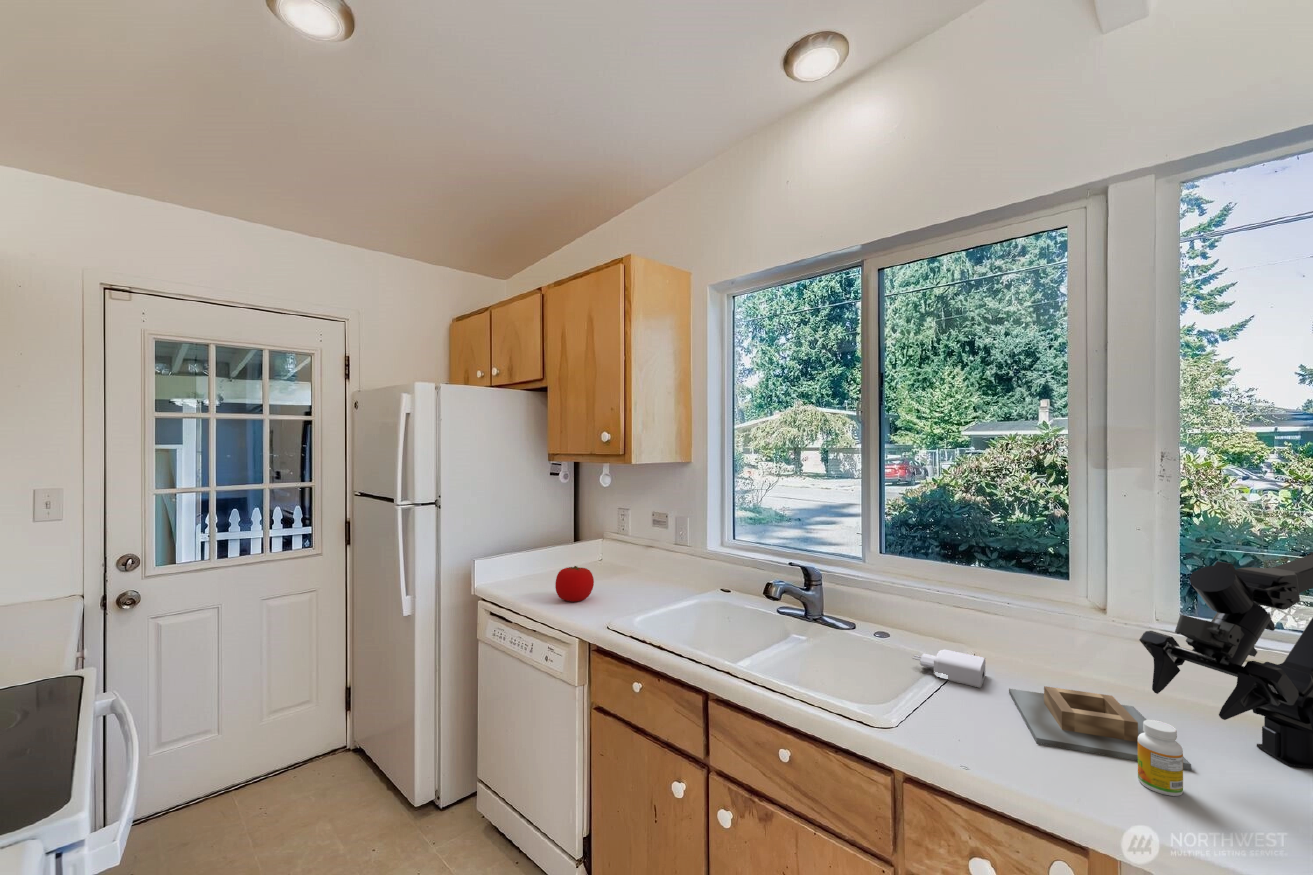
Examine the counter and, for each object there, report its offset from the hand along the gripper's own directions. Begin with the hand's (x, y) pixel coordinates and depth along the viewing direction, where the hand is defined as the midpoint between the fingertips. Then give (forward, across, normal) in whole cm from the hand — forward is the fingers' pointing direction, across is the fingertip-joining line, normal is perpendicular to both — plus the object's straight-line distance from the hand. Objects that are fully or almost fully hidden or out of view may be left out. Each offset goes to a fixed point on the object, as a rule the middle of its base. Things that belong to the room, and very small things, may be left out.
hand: (1186, 704), depth 90 cm
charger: (+13, -45, +5) cm, 47 cm away
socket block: (+8, -17, +10) cm, 21 cm away
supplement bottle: (+13, 0, +5) cm, 14 cm away
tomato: (+70, -128, -51) cm, 154 cm away
